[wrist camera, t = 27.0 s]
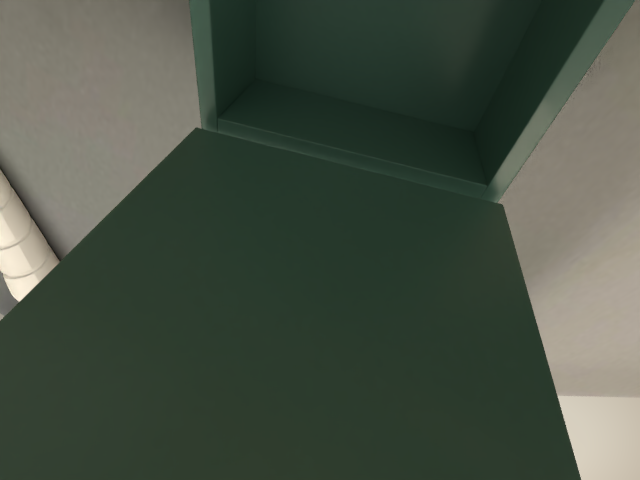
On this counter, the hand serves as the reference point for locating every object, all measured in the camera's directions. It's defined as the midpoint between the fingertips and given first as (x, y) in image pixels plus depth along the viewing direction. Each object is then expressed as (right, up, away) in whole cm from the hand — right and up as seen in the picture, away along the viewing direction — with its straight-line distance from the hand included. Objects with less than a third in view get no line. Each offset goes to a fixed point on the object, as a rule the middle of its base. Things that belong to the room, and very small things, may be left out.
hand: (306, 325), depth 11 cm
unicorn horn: (-28, +7, +20) cm, 35 cm away
